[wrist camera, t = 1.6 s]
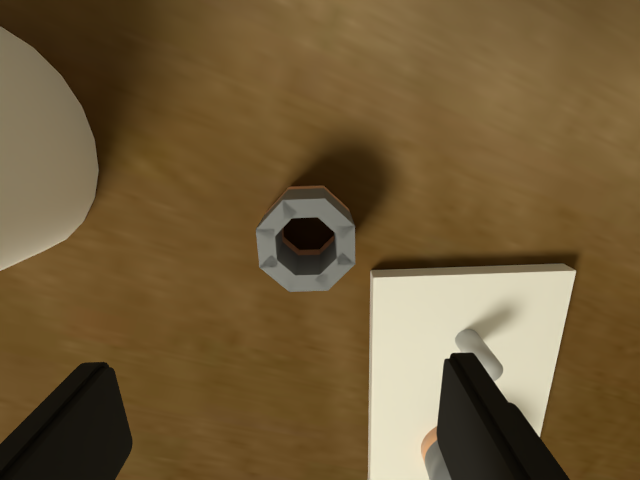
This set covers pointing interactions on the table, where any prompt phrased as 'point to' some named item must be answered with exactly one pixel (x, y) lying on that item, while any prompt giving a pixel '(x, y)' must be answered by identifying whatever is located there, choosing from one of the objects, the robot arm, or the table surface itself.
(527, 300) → the pin board
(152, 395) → the table surface
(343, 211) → the sleeve
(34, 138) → the cylinder
